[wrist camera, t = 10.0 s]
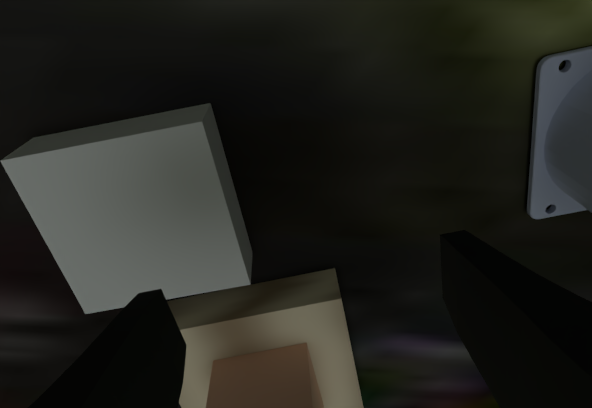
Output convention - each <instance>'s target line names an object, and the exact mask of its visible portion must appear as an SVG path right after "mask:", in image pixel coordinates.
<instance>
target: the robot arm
mask: <svg viewBox="0 0 592 408" xmlns="http://www.w3.org/2000/svg"><path fill="white" fill-rule="evenodd" d="M564 60H565V61H566V64H565V67H564V68H563V69H562V70H559V65H560V63H561V62H562V61H564ZM549 205H551V207H550V208H549V209H547V210H546V207H548V206H549ZM584 210H589V211H590V212H591V213H592V46H590V47H585V48H581V49H576V50H571V51H566V52H562V53H557V54H552V55H548V56H546V57H544V58H543V59H542V60H540V62H539V64H538V65H537V69H536V83H535V97H534V112H533V126H532V141H531V155H530V170H529V184H528V199H527V213H528V214H529V215H530V216H531V217H532V218H534V219H543V218H548V217H553V216H558V215H563V214H569V213H574V212H579V211H584ZM440 244H441V266H442V289H443V299H444V301H445V304H446V306H447V309H448V311H449V314H450V316H451V319H452V321H453V323H454V326H455V328H456V330H457V333H458V334H459V336H460V338H461V340H462V342H463V343H464V345H465V347H466V349H467V350H468V352H469V354H470V356H471V358H472V359H473V361H474V363H475V365H476V366H477V368H478V370H479V372H480V373H481V375H482V377H483V378H484V380H485V382H486V384H487V385H488V387H489V389H490V391H491V392H492V394H493V396H494V398H495V399H496V401H497V403H498V405H499V406H500V408H592V302H590V301H588V300H586V299H584V298H582V297H580V296H578V295H576V294H574V293H572V292H570V291H568V290H566V289H564V288H562V287H560V286H558V285H557V284H555V283H553V282H551V281H549V280H547V279H545V278H544V277H542V276H540V275H538V274H536V273H535V272H533V271H531V270H529V269H528V268H526V267H524V266H523V265H521V264H519V263H517V262H516V261H514V260H512V259H511V258H509V257H507V256H506V255H504V254H503V253H501V252H499V251H498V250H496V249H495V248H493V247H491V246H490V245H488V244H487V243H485V242H483V241H482V240H480V239H479V238H477V237H475V236H474V235H472V234H470V233H469V232H467V231H465V230H463V231H457V232H452V233H447V234H442V235H440ZM185 358H186V343H185V340H184V338H183V336H182V334H181V332H180V329H179V327H178V325H177V323H176V320H175V318H174V316H173V314H172V312H171V309H170V307H169V305H168V303H167V300H166V298H165V296H164V294H163V292H162V289H157V290H152V291H147V292H142V293H138V294H137V295H136V296H135V297H134V298H133V299H132V300H131V301H130V302H129V303H128V304H127V305H126V306H125V307H124V309H123V310H122V311H121V312H120V313H119V314H118V315H117V316H116V317H115V318H114V320H113V321H112V322H111V323H110V324H109V325H108V326H107V327H106V328H105V330H104V331H103V332H102V333H101V334H100V335H99V336H98V337H97V338H96V339H95V340H94V342H93V343H92V344H91V345H90V346H89V347H88V348H87V349H86V350H85V351H84V352H83V354H82V355H81V356H80V357H79V358H78V359H77V360H76V361H75V362H74V363H73V364H72V365H71V366H70V367H69V368H68V369H67V370H66V371H65V372H64V373H63V374H62V375H61V376H60V377H59V378H58V379H57V380H56V381H55V382H54V383H53V384H52V385H51V386H50V387H49V388H48V389H47V390H46V391H45V392H44V393H43V394H42V395H41V396H40V397H39V398H38V399H37V400H36V401H35V402H34V403H33V404H31V405H30V406H29V407H28V408H178V403H179V399H180V395H181V390H182V385H183V378H184V369H185Z"/></svg>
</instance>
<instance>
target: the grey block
mask: <svg viewBox="0 0 592 408" xmlns="http://www.w3.org/2000/svg"><path fill="white" fill-rule="evenodd" d="M1 163H2V165H3V167H4V168H5V170H6V172H7V174H8V176H9V177H10V179H11V181H12V183H13V185H14V186H15V188H16V190H17V192H18V193H19V195H20V197H21V199H22V201H23V202H24V204H25V206H26V208H27V210H28V211H29V213H30V215H31V217H32V219H33V220H34V222H35V224H36V226H37V228H38V229H39V231H40V233H41V235H42V237H43V238H44V240H45V242H46V244H47V246H48V247H49V249H50V251H51V253H52V255H53V256H54V258H55V260H56V262H57V264H58V265H59V267H60V269H61V271H62V272H63V274H64V276H65V278H66V280H67V281H68V283H69V285H70V287H71V289H72V290H73V292H74V294H75V296H76V298H77V299H78V301H79V303H80V305H81V307H82V308H83V310H84V312H85V314H89V313H94V312H100V311H105V310H111V309H117V308H122V307H125V306H126V305H127V304H128V303H129V302H130V301H131V300H132V299H133V298H134V297H135V296H136V295H137V294H138V293H142V292H147V291H152V290H157V289H162V292H163V294H164V296H165V298H166V300H167V299H173V298H178V297H184V296H189V295H195V294H201V293H206V292H212V291H217V290H223V289H229V288H234V287H240V286H246V285H250V284H251V268H252V253H253V252H252V249H251V245H250V242H249V238H248V235H247V231H246V228H245V224H244V220H243V217H242V213H241V210H240V206H239V203H238V199H237V195H236V192H235V188H234V185H233V181H232V178H231V174H230V171H229V167H228V163H227V160H226V156H225V153H224V149H223V146H222V142H221V138H220V135H219V131H218V128H217V124H216V121H215V117H214V113H213V110H212V106H211V103H208V104H203V105H198V106H193V107H188V108H182V109H177V110H172V111H167V112H162V113H157V114H152V115H147V116H142V117H137V118H131V119H126V120H121V121H116V122H111V123H106V124H101V125H96V126H91V127H86V128H80V129H75V130H70V131H65V132H60V133H55V134H50V135H45V136H40V137H34V138H32V139H31V140H29V141H28V142H27V143H25V144H24V145H22V146H21V147H19V148H18V149H17V150H15V151H14V152H12V153H11V154H9V155H8V156H6V157H5V158H4V159H2V160H1Z"/></svg>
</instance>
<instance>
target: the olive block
mask: <svg viewBox="0 0 592 408" xmlns="http://www.w3.org/2000/svg"><path fill="white" fill-rule="evenodd" d="M167 303H168V305H169V307H170V309H171V312H172V314H173V316H174V318H175V320H176V323H177V325H178V327H179V329H180V332H181V334H182V336H183V338H184V340H185V343H186V358H185V369H184V378H183V385H182V390H181V395H180V399H179V403H180V405H181V407H182V408H206V403H207V397H208V390H209V384H210V377H211V371H212V365H213V361H214V360H219V359H224V358H229V357H235V356H240V355H245V354H250V353H255V352H261V351H266V350H271V349H276V348H282V347H287V346H292V345H297V344H303V343H307V346H308V350H309V353H310V357H311V361H312V364H313V368H314V372H315V375H316V379H317V383H318V386H319V390H320V394H321V397H322V401H323V405H324V408H363V403H362V398H361V393H360V388H359V383H358V378H357V373H356V368H355V363H354V358H353V354H352V349H351V344H350V339H349V334H348V329H347V324H346V319H345V314H344V309H343V304H342V299H341V294H340V290H339V285H338V281H337V276H336V271H335V268H333V269H328V270H323V271H318V272H313V273H308V274H303V275H298V276H293V277H287V278H282V279H277V280H272V281H267V282H262V283H257V284H252V285H247V286H242V287H237V288H232V289H227V290H222V291H217V292H212V293H206V294H201V295H196V296H191V297H186V298H181V299H176V300H171V301H167Z"/></svg>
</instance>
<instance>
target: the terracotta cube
mask: <svg viewBox="0 0 592 408" xmlns="http://www.w3.org/2000/svg"><path fill="white" fill-rule="evenodd" d="M206 408H324V405H323V401H322V397H321V394H320V390H319V386H318V383H317V379H316V375H315V372H314V368H313V364H312V361H311V357H310V353H309V350H308V346H307V343H303V344H297V345H292V346H287V347H282V348H276V349H271V350H266V351H261V352H255V353H250V354H245V355H240V356H235V357H229V358H224V359H219V360H214V361H213V365H212V371H211V377H210V384H209V390H208V397H207V403H206Z"/></svg>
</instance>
